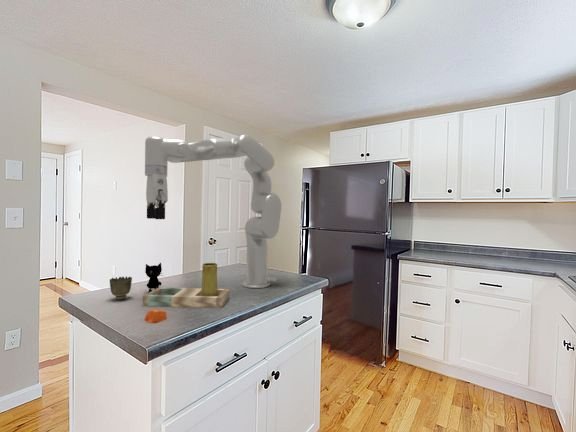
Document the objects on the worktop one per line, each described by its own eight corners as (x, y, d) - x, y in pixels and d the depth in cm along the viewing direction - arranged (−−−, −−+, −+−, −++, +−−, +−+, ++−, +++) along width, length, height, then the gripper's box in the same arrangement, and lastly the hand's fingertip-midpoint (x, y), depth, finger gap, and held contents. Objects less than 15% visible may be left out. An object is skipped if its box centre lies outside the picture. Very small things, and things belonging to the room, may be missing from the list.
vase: (217, 304, 106) (217, 265, 106) (199, 305, 105) (200, 265, 105) (218, 299, 112) (218, 262, 112) (201, 300, 111) (202, 262, 111)
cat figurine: (146, 295, 116) (147, 265, 116) (141, 291, 121) (141, 262, 121) (164, 292, 121) (165, 263, 121) (159, 288, 126) (159, 261, 126)
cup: (111, 297, 112) (111, 276, 112) (132, 295, 115) (132, 275, 115) (107, 303, 105) (107, 281, 105) (130, 301, 108) (131, 279, 108)
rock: (160, 312, 99) (160, 299, 99) (184, 319, 93) (184, 306, 93) (125, 323, 89) (125, 309, 89) (149, 332, 83) (149, 317, 83)
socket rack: (229, 297, 114) (229, 289, 114) (221, 307, 102) (221, 297, 102) (158, 296, 115) (158, 287, 115) (142, 305, 103) (142, 296, 103)
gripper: (175, 170, 103) (174, 219, 103) (159, 175, 116) (158, 218, 116) (152, 168, 98) (152, 219, 98) (138, 173, 111) (137, 218, 111)
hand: (155, 218), depth 107 cm, fingers open, 9 cm apart
